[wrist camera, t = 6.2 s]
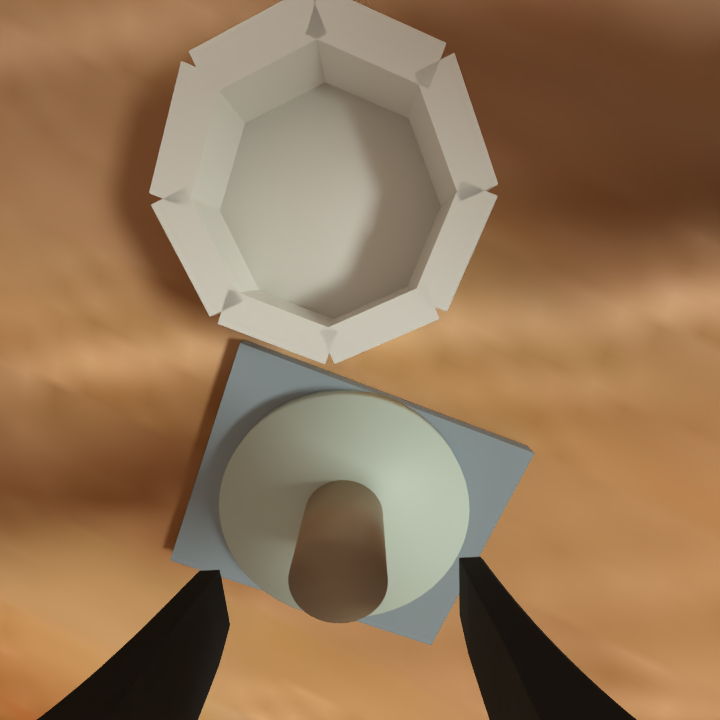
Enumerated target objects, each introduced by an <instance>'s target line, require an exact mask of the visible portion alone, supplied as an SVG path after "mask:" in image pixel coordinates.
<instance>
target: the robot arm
mask: <svg viewBox="0 0 720 720" xmlns="http://www.w3.org/2000/svg"><path fill="white" fill-rule="evenodd" d="M459 596H460V618H461V622H462V627H463V632H464V636H465V641H466V645H467V649H468V654H469V657H470V660H471V663H472V667H473V670H474V673H475V676H476V679H477V682H478V685H479V688H480V691H481V695H482V698H483V701H484V704H485V707H486V710H487V713H488V716H489V719H490V720H636V719H635V718H634V717H633V716H631V715H630V714H629V713H628V712H627V711H625V710H624V709H623V708H622V707H621V706H619V705H618V704H617V703H616V702H615V701H614V700H613V699H612V698H610V697H609V696H608V695H607V694H606V693H605V692H604V691H602V690H601V689H600V688H599V687H598V686H597V685H596V684H595V683H594V682H593V681H592V680H590V679H589V678H588V677H587V676H586V675H585V674H584V673H583V672H582V671H581V670H580V669H579V668H578V667H577V666H576V665H575V664H574V663H573V662H572V661H571V660H570V659H569V658H568V657H567V656H566V655H565V654H564V653H563V652H562V651H561V650H560V649H559V648H558V647H557V646H556V645H555V644H554V643H553V642H552V641H551V640H550V639H549V638H548V637H547V636H546V635H545V634H544V633H543V631H542V630H541V629H540V628H539V627H538V626H537V625H536V624H535V623H534V622H533V620H532V619H531V618H530V617H529V616H528V615H527V614H526V612H525V611H524V610H523V609H522V608H521V607H520V606H519V604H518V603H517V602H516V601H515V600H514V598H513V597H512V596H511V595H510V594H509V592H508V591H507V590H506V589H505V587H504V586H503V585H502V584H501V582H500V581H499V580H498V579H497V577H496V576H495V575H494V574H493V572H492V571H491V570H490V568H489V567H488V566H487V564H486V563H485V562H484V560H483V559H482V558H481V557H463V558H459ZM229 626H230V623H229V617H228V612H227V606H226V601H225V595H224V590H223V585H222V579H221V574H220V570H203V571H199V572H198V573H197V574H196V575H195V576H194V577H193V578H192V579H191V580H190V581H189V582H188V583H187V584H186V585H185V586H184V587H183V588H182V589H181V590H180V591H179V592H178V593H177V594H176V595H175V596H174V597H173V598H172V599H171V600H170V601H169V602H168V603H167V604H166V605H165V606H164V607H163V608H162V609H161V610H160V611H159V612H158V613H157V614H156V615H155V616H154V617H153V618H152V619H151V620H150V621H149V622H148V623H147V624H146V625H145V626H144V627H143V628H142V629H141V630H140V631H139V632H138V633H137V634H136V635H135V636H134V637H133V638H132V639H131V640H130V641H129V642H127V643H126V644H125V645H124V646H123V647H122V648H121V649H120V650H119V651H118V652H117V653H116V654H115V655H113V656H112V657H111V658H110V659H109V660H108V661H107V662H106V663H105V664H104V665H103V666H102V667H100V668H99V669H98V670H97V671H96V672H95V673H94V674H92V675H91V676H90V677H89V678H88V679H87V680H85V681H84V682H83V683H82V684H81V685H80V686H78V687H77V688H76V689H75V690H74V691H72V692H71V693H70V694H69V695H67V696H66V697H65V698H64V699H63V700H61V701H60V702H59V703H58V704H57V705H55V706H54V707H53V708H51V709H50V710H49V711H48V712H46V713H45V714H44V715H42V716H41V717H40V718H38V719H37V720H198V718H199V715H200V713H201V710H202V708H203V705H204V703H205V700H206V698H207V695H208V692H209V690H210V687H211V685H212V682H213V679H214V677H215V674H216V671H217V669H218V666H219V663H220V659H221V656H222V653H223V649H224V645H225V642H226V638H227V634H228V630H229Z"/></svg>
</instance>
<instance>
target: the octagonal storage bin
mask: <svg viewBox="0 0 720 720" xmlns="http://www.w3.org/2000/svg"><path fill="white" fill-rule="evenodd" d="M445 46H446V43H445V42H443V41H441V40H439V39H437V38H434V37H432V36H430V35H428V34H426V33H423V32H421V31H419V30H417V29H415V28H412V27H410V26H408V25H406V24H404V23H401V22H399V21H397V20H395V19H393V18H390V17H388V16H386V15H384V14H382V13H379V12H377V11H375V10H373V9H371V8H368V7H366V6H364V5H362V4H360V3H358V2H355V1H353V0H316V2H314V0H282V1H280V2H278V3H276V4H275V5H273V6H271V7H269V8H267V9H265V10H263V11H262V12H260V13H258V14H256V15H254V16H252V17H251V18H249V19H247V20H245V21H243V22H241V23H239V24H238V25H236V26H234V27H232V28H230V29H228V30H227V31H225V32H223V33H221V34H219V35H217V36H215V37H214V38H212V39H210V40H208V41H206V42H204V43H203V44H201V45H199V46H197V47H195V48H193V49H191V50H190V51H189V53H190V55H191V57H192V60H193V62H194V64H195V66H196V67H195V66H192V65H190V64H188V63H185V62H183V61H181V64H180V68H179V72H178V76H177V80H176V84H175V88H174V92H173V97H172V101H171V105H170V109H169V113H168V117H167V121H166V125H165V129H164V134H163V138H162V142H161V146H160V150H159V154H158V158H157V162H156V166H155V171H154V175H153V179H152V183H151V187H150V191H149V193H150V194H152V195H155V196H157V197H160V198H162V199H161V200H159V201H157V202H155V203H153V204H151V206H152V208H153V210H154V212H155V214H156V216H157V218H158V220H159V221H160V223H161V225H162V227H163V229H164V231H165V233H166V235H167V237H168V238H169V240H170V242H171V244H172V246H173V248H174V250H175V252H176V254H177V256H178V257H179V259H180V261H181V263H182V265H183V267H184V269H185V271H186V273H187V274H188V276H189V278H190V280H191V282H192V284H193V286H194V288H195V290H196V292H197V293H198V295H199V297H200V299H201V301H202V303H203V305H204V307H205V309H206V311H207V312H208V314H209V316H210V317H211V316H214V315H218V314H220V318H219V321H218V324H219V325H222V326H225V327H227V328H230V329H233V330H235V331H238V332H241V333H243V334H246V335H248V336H251V337H254V338H256V339H259V340H262V341H264V342H267V343H270V344H272V345H275V346H278V347H280V348H283V349H286V350H288V351H291V352H294V353H296V354H299V355H302V356H304V357H307V358H309V359H312V360H315V361H317V362H320V363H323V364H325V363H326V361H327V358H328V356H329V354H330V355H331V357H332V359H333V361H334V363H335V364H336V363H338V362H341V361H343V360H345V359H348V358H350V357H352V356H355V355H357V354H359V353H362V352H364V351H366V350H369V349H371V348H373V347H376V346H378V345H380V344H383V343H385V342H387V341H390V340H392V339H394V338H397V337H399V336H401V335H404V334H406V333H408V332H410V331H413V330H415V329H417V328H420V327H422V326H424V325H427V324H429V323H431V322H434V321H436V320H438V319H439V317H438V314H437V312H436V309H435V307H436V308H439V309H441V310H444V311H446V312H447V311H448V308H449V306H450V304H451V302H452V299H453V297H454V295H455V292H456V290H457V288H458V286H459V283H460V281H461V279H462V276H463V274H464V272H465V270H466V267H467V265H468V263H469V261H470V258H471V256H472V254H473V251H474V249H475V247H476V245H477V242H478V240H479V238H480V236H481V233H482V231H483V229H484V226H485V224H486V222H487V220H488V217H489V215H490V213H491V210H492V208H493V206H494V204H495V201H496V199H497V197H498V196H497V195H494V194H492V193H490V192H488V191H489V190H490V189H492V188H493V187H495V186H496V185H498V182H497V179H496V176H495V173H494V170H493V167H492V164H491V161H490V158H489V155H488V152H487V149H486V146H485V143H484V140H483V137H482V134H481V131H480V128H479V125H478V122H477V119H476V116H475V113H474V110H473V107H472V104H471V101H470V98H469V95H468V92H467V89H466V86H465V83H464V80H463V77H462V74H461V71H460V68H459V65H458V62H457V59H456V56H455V53H453V54H451V55H449V56H447V57H445V58H443V59H441V57H442V54H443V51H444V48H445ZM440 59H441V60H440Z"/></svg>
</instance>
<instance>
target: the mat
mask: <svg viewBox="0 0 720 720" xmlns="http://www.w3.org/2000/svg"><path fill="white" fill-rule="evenodd" d="M328 390H359V391H366V392H372V393H375V394H379V395H382V396H386V397H389V398H391V399H393V400H396V401H398V402H401V403H403V404H404V405H406V406H408V407H410V408H411V409H413V410H415V411H416V412H418V413H419V414H420V415H421V416H423V417H424V418H425V419H427V420H428V421H429V422H430V423H431V424H432V425H433V426H434V427H435V428H436V429H437V430H438V431H439V432H440V434H441V435H442V436H443V438H444V439H445V440H446V442H447V443H448V444H449V446H450V448H451V450H452V452H453V454H454V456H455V457H456V459H457V461H458V464H459V466H460V468H461V470H462V473H463V476H464V478H465V481H466V485H467V490H468V495H469V511H470V512H469V522H468V528H467V532H466V536H465V540H464V543H463V545H462V547H461V550H460V552H459V554H458V556H457V558H456V559H455V561H454V563H453V565H452V566H451V567H450V569H449V570H448V571H447V572H446V574H445V575H444V576H443V577H442V578H441V579H440V580H439V581H438V582H437V583H436V584H435V585H434V586H433V587H432V588H431V589H429V590H428V591H427V592H425V593H424V594H423V595H422V596H420V597H418V598H417V599H415V600H413V601H411V602H410V603H408V604H406V605H403V606H401V607H399V608H397V609H394V610H391V611H388V612H385V613H381V614H377V615H371V616H366V617H364V618H362V619H360V620H356V621H358V622H361V623H364V624H367V625H370V626H373V627H377V628H380V629H383V630H386V631H389V632H392V633H395V634H398V635H401V636H404V637H407V638H410V639H413V640H416V641H419V642H423V643H426V644H429V645H432V643H433V641H434V639H435V637H436V635H437V634H438V632H439V630H440V628H441V626H442V624H443V622H444V621H445V619H446V617H447V615H448V613H449V611H450V609H451V608H452V606H453V604H454V602H455V600H456V598H457V596H458V595H459V558H463V557H479V555H480V554H481V552H482V550H483V548H484V546H485V544H486V542H487V541H488V539H489V537H490V535H491V533H492V531H493V529H494V528H495V526H496V524H497V522H498V520H499V518H500V516H501V515H502V513H503V511H504V509H505V507H506V505H507V503H508V501H509V500H510V498H511V496H512V494H513V492H514V490H515V488H516V487H517V485H518V483H519V481H520V479H521V477H522V475H523V474H524V472H525V470H526V468H527V466H528V464H529V462H530V461H531V459H532V457H533V455H534V452H533V451H532V450H531V449H530V448H529V447H528V446H526V445H523V444H520V443H518V442H515V441H512V440H510V439H507V438H504V437H502V436H499V435H496V434H494V433H491V432H488V431H486V430H483V429H480V428H478V427H475V426H472V425H470V424H467V423H464V422H462V421H459V420H456V419H454V418H451V417H448V416H446V415H443V414H441V413H438V412H435V411H433V410H430V409H427V408H425V407H422V406H419V405H417V404H414V403H411V402H409V401H406V400H403V399H401V398H398V397H395V396H393V395H390V394H387V393H385V392H382V391H379V390H377V389H374V388H371V387H369V386H366V385H363V384H361V383H358V382H355V381H353V380H350V379H347V378H345V377H342V376H339V375H337V374H334V373H331V372H329V371H326V370H323V369H321V368H318V367H315V366H313V365H310V364H307V363H305V362H302V361H300V360H297V359H294V358H292V357H289V356H286V355H284V354H281V353H278V352H276V351H273V350H270V349H268V348H265V347H262V346H260V345H257V344H254V343H252V342H249V341H246V340H244V341H242V342H241V343H240V344H239V348H238V351H237V354H236V357H235V360H234V363H233V366H232V369H231V373H230V376H229V379H228V382H227V385H226V388H225V391H224V394H223V397H222V401H221V404H220V407H219V410H218V413H217V416H216V419H215V422H214V425H213V429H212V432H211V435H210V438H209V441H208V444H207V447H206V450H205V453H204V457H203V460H202V463H201V466H200V469H199V472H198V475H197V478H196V481H195V485H194V488H193V491H192V494H191V497H190V500H189V503H188V506H187V509H186V513H185V516H184V519H183V522H182V525H181V528H180V531H179V534H178V537H177V541H176V544H175V547H174V550H173V553H172V556H171V559H170V560H171V561H174V562H177V563H180V564H183V565H186V566H189V567H193V568H196V569H199V570H202V571H203V570H220V574H221V577H223V578H226V579H229V580H232V581H235V582H239V583H242V584H245V585H248V586H251V587H254V588H257V589H260V590H262V589H261V588H260V587H259V586H257V585H256V584H255V583H254V582H253V581H252V580H251V579H250V578H249V577H248V576H247V575H246V574H245V573H244V572H243V570H242V569H241V567H240V566H239V565H238V563H237V562H236V561H235V559H234V557H233V555H232V553H231V552H230V550H229V548H228V546H227V543H226V540H225V538H224V535H223V531H222V527H221V522H220V515H219V495H220V488H221V483H222V479H223V475H224V473H225V470H226V468H227V465H228V462H229V461H230V459H231V457H232V455H233V454H234V452H235V450H236V449H237V447H238V446H239V444H240V443H241V442H242V440H243V439H244V438H245V436H246V435H247V434H248V433H249V431H250V430H251V429H252V428H253V427H254V426H255V425H256V424H257V423H258V422H259V421H260V420H261V419H262V418H263V417H265V416H266V415H267V414H269V413H270V412H271V411H273V410H274V409H276V408H277V407H279V406H281V405H283V404H285V403H287V402H289V401H291V400H293V399H296V398H299V397H301V396H304V395H307V394H312V393H316V392H320V391H328Z"/></svg>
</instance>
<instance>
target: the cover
mask: <svg viewBox="0 0 720 720" xmlns="http://www.w3.org/2000/svg"><path fill="white" fill-rule="evenodd" d="M469 512H470V511H469V495H468V490H467V485H466V481H465V478H464V476H463V473H462V470H461V468H460V466H459V464H458V461H457V459H456V457H455V456H454V454H453V452H452V450H451V448H450V446H449V444H448V443H447V442H446V440H445V439H444V438H443V436H442V435H441V434H440V432H439V431H438V430H437V429H436V428H435V427H434V426H433V425H432V424H431V423H430V422H429V421H428V420H427V419H425V418H424V417H423V416H421V415H420V414H419V413H418V412H416V411H415V410H413V409H411V408H410V407H408V406H406V405H404V404H403V403H401V402H398V401H396V400H393V399H391V398H389V397H386V396H382V395H379V394H375V393H372V392H366V391H359V390H328V391H320V392H316V393H312V394H307V395H304V396H301V397H299V398H296V399H293V400H291V401H289V402H287V403H285V404H283V405H281V406H279V407H277V408H276V409H274V410H273V411H271V412H270V413H269V414H267V415H266V416H265V417H263V418H262V419H261V420H260V421H259V422H258V423H257V424H256V425H255V426H254V427H253V428H252V429H251V430H250V431H249V433H248V434H247V435H246V436H245V438H244V439H243V440H242V442H241V443H240V444H239V446H238V447H237V449H236V450H235V452H234V454H233V455H232V457H231V459H230V461H229V462H228V465H227V468H226V470H225V473H224V475H223V479H222V483H221V488H220V495H219V515H220V522H221V527H222V531H223V535H224V538H225V540H226V543H227V546H228V548H229V550H230V552H231V553H232V555H233V557H234V559H235V561H236V562H237V563H238V565H239V566H240V567H241V569H242V570H243V572H244V573H245V574H246V575H247V576H248V577H249V578H250V579H251V580H252V581H253V582H254V583H255V584H256V585H257V586H259V587H260V588H261V589H262V590H263V591H265V592H266V593H268V594H269V595H271V596H272V597H274V598H275V599H277V600H279V601H281V602H283V603H285V604H287V605H289V606H291V607H293V608H296V609H299V610H302V611H304V612H306V613H307V614H309V615H310V616H312V617H314V618H316V619H319V620H322V621H326V622H331V623H348V622H353V621H356V620H360V619H362V618H364V617H366V616H371V615H377V614H381V613H385V612H388V611H391V610H394V609H397V608H399V607H401V606H403V605H406V604H408V603H410V602H411V601H413V600H415V599H417V598H418V597H420V596H422V595H423V594H424V593H425V592H427V591H428V590H429V589H431V588H432V587H433V586H434V585H435V584H436V583H437V582H438V581H439V580H440V579H441V578H442V577H443V576H444V575H445V574H446V572H447V571H448V570H449V569H450V567H451V566H452V565H453V563H454V561H455V559H456V558H457V556H458V554H459V552H460V550H461V547H462V545H463V543H464V540H465V536H466V532H467V528H468V522H469Z"/></svg>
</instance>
